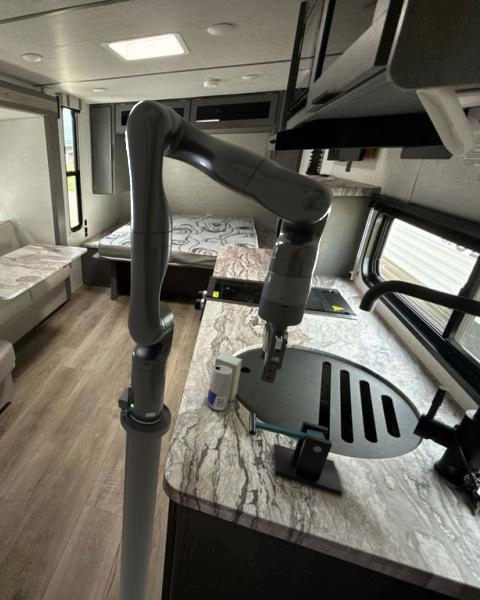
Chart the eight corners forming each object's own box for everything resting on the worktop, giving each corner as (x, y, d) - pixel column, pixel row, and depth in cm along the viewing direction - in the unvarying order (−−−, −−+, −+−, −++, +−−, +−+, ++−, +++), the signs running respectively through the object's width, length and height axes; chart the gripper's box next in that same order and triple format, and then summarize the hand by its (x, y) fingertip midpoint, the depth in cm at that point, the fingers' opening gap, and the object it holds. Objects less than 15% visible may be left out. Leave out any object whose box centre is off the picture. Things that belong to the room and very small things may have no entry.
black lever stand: (275, 474, 66) (286, 436, 62) (273, 447, 73) (283, 411, 69) (340, 496, 62) (357, 456, 58) (332, 465, 69) (346, 427, 65)
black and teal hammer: (248, 436, 67) (249, 427, 66) (248, 418, 72) (249, 410, 71) (324, 456, 62) (326, 446, 61) (318, 434, 67) (321, 426, 66)
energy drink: (209, 396, 90) (214, 361, 86) (228, 402, 88) (234, 366, 83) (204, 406, 86) (210, 370, 82) (224, 413, 84) (231, 377, 79)
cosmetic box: (236, 394, 91) (243, 359, 86) (231, 402, 88) (238, 366, 83) (215, 385, 95) (221, 351, 90) (209, 392, 92) (215, 357, 87)
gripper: (261, 281, 64) (247, 349, 70) (262, 305, 52) (245, 384, 58) (302, 287, 61) (284, 356, 67) (313, 313, 49) (290, 395, 55)
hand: (266, 369), depth 63 cm, fingers open, 8 cm apart
